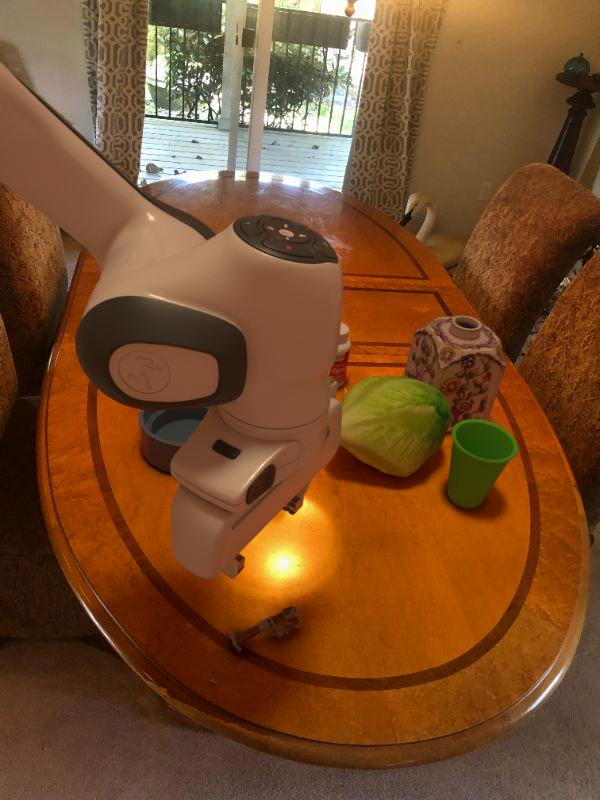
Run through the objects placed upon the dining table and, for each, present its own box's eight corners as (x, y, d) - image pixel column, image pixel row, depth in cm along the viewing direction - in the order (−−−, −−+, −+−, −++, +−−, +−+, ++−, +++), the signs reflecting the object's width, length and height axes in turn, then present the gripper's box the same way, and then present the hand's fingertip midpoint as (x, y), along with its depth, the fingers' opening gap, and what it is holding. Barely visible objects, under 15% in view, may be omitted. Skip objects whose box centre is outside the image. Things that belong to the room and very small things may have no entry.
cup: (506, 500, 91) (531, 443, 84) (472, 529, 85) (495, 471, 79) (456, 466, 96) (476, 410, 89) (421, 492, 90) (438, 434, 84)
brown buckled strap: (311, 628, 69) (299, 610, 66) (247, 661, 69) (232, 644, 66) (306, 615, 71) (294, 596, 67) (243, 647, 70) (228, 630, 67)
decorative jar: (485, 432, 103) (518, 340, 93) (421, 436, 101) (447, 342, 90) (456, 390, 113) (483, 302, 102) (397, 393, 110) (418, 303, 99)
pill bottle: (325, 394, 108) (333, 340, 101) (303, 377, 111) (310, 323, 105) (351, 384, 111) (361, 331, 104) (329, 367, 115) (337, 315, 108)
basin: (193, 492, 86) (193, 460, 82) (120, 449, 91) (117, 417, 88) (254, 441, 96) (257, 411, 92) (185, 405, 101) (185, 375, 98)
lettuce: (300, 450, 95) (312, 366, 91) (405, 440, 105) (420, 363, 100) (349, 495, 83) (365, 401, 79) (462, 480, 93) (483, 394, 88)
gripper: (308, 355, 58) (296, 464, 66) (153, 473, 44) (162, 593, 52) (367, 380, 55) (347, 490, 64) (222, 514, 41) (220, 633, 49)
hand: (263, 537), depth 58 cm, fingers open, 8 cm apart
